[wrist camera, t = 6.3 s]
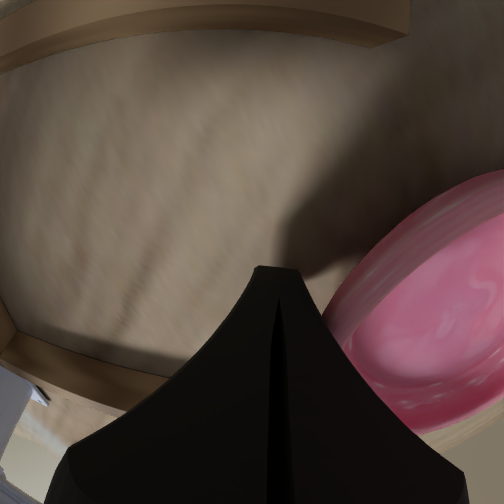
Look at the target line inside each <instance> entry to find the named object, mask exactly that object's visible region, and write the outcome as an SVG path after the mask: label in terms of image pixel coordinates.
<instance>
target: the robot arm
mask: <svg viewBox="0 0 504 504" xmlns="http://www.w3.org/2000/svg"><path fill="white" fill-rule="evenodd" d="M30 398H31V399H33V400H35V401H37V402H39V403H41V404H43V405H45V406H48V405H49V402H48V401H47V399H46V398H45V397H44V396H43V394H42V393H41V392H40V391H39V389H38V388H37V387H36V385H35V384H33V383H31V382H29V381H27V380H25V379H23V378H22V377H20V376H18V375H16V374H14V373H12V372H10V371H9V370H7V369H5V368H3V367H2V366H0V460H1V457H2V455H3V453H4V450H5V448H6V446H7V444H8V441H9V439H10V437H11V435H12V433H13V431H14V429H15V427H16V425H17V423H18V421H19V419H20V417H21V415H22V413H23V411H24V409H25V407H26V405H27V403H28V401H29V399H30ZM0 504H42V503H40V502H39V501H37V500H35V499H34V498H32V497H31V496H29V495H27V494H26V493H25V492H23V491H22V490H20V489H19V488H17V487H16V486H14V485H13V484H11V483H10V482H8V481H7V480H6V476H5V474H4V472H3V468H2V467H1V466H0ZM44 504H469V497H468V490H467V485H466V479H465V476H464V472H462V471H461V470H460V469H458V468H457V467H456V466H454V465H453V464H452V463H450V462H449V461H448V460H446V459H445V458H444V457H442V456H441V455H440V454H439V453H437V452H436V451H435V450H433V449H432V448H431V447H430V446H428V445H427V444H426V443H425V442H424V441H423V440H421V439H420V438H419V437H418V436H417V435H416V434H415V433H414V432H413V431H412V430H410V429H409V428H408V427H407V426H406V425H405V424H404V423H403V422H402V421H401V420H400V419H399V418H398V417H397V416H396V415H395V413H394V412H393V411H392V410H391V409H390V408H389V407H388V406H387V405H386V404H385V403H384V402H383V401H382V400H381V399H380V398H379V397H378V395H377V394H376V393H375V392H374V391H373V389H372V388H371V387H370V386H369V385H368V383H367V382H366V381H365V380H364V379H363V377H362V376H361V375H360V373H359V372H358V371H357V369H356V368H355V367H354V366H353V364H352V363H351V361H350V360H349V359H348V357H347V356H346V354H345V353H344V351H343V350H342V348H341V347H340V345H339V344H338V342H337V341H336V339H335V338H334V336H333V335H332V333H331V331H330V330H329V328H328V326H327V325H326V323H325V321H324V319H323V318H322V316H321V314H320V312H319V311H318V309H317V307H316V305H315V303H314V301H313V299H312V297H311V295H310V293H309V291H308V289H307V287H306V285H305V283H304V281H303V278H302V276H301V274H300V272H299V271H298V270H296V269H287V268H278V267H270V266H261V265H259V266H257V267H256V268H254V272H253V274H252V277H251V279H250V281H249V283H248V285H247V287H246V288H245V290H244V292H243V294H242V295H241V297H240V298H239V300H238V301H237V303H236V304H235V306H234V307H233V309H232V310H231V312H230V313H229V314H228V316H227V317H226V318H225V320H224V321H223V322H222V323H221V325H220V326H219V327H218V329H217V330H216V331H215V332H214V334H213V335H212V336H211V337H210V338H209V339H208V341H207V342H206V343H205V344H204V345H203V346H202V347H201V348H200V349H199V351H198V352H197V353H196V354H195V355H194V356H193V357H192V358H191V359H190V360H189V361H188V362H187V363H186V364H185V365H184V366H183V367H182V368H180V369H179V370H178V371H177V372H176V373H175V374H174V375H173V376H172V377H171V378H170V379H168V380H167V381H166V382H165V383H164V384H163V385H162V386H160V387H159V388H158V389H157V390H155V391H154V392H153V393H152V394H150V395H149V396H148V397H146V398H145V399H144V400H142V401H141V402H140V403H138V404H137V405H136V406H134V407H133V408H132V409H130V410H129V411H127V412H126V413H125V414H123V415H122V416H120V417H119V418H117V419H116V420H114V421H113V422H111V423H110V424H108V425H106V426H105V427H103V428H101V429H99V430H98V431H96V432H94V433H93V434H91V435H89V436H87V437H86V438H84V439H82V440H80V441H79V442H77V443H75V444H73V445H71V446H70V447H69V448H68V449H67V451H66V453H65V454H64V456H63V458H62V460H61V461H60V463H59V465H58V467H57V468H56V470H55V473H54V475H53V478H52V481H51V484H50V486H49V489H48V492H47V495H46V498H45V501H44Z"/></svg>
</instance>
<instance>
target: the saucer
mask: <svg viewBox="0 0 504 504" xmlns="http://www.w3.org/2000/svg"><path fill="white" fill-rule="evenodd" d="M322 318H323V319H324V321H325V323H326V325H327V326H328V328H329V330H330V331H331V333H332V335H333V336H334V338H335V339H336V341H337V342H338V344H339V345H340V347H341V348H342V350H343V351H344V353H345V354H346V356H347V357H348V359H349V360H350V361H351V363H352V364H353V366H354V367H355V368H356V369H357V371H358V372H359V373H360V375H361V376H362V377H363V379H364V380H365V381H366V382H367V383H368V385H369V386H370V387H371V388H372V389H373V391H374V392H375V393H376V394H377V395H378V397H379V398H380V399H381V400H382V401H383V402H384V403H385V404H386V405H387V406H388V407H389V408H390V409H391V410H392V411H393V412H394V413H395V415H396V416H397V417H398V418H399V419H400V420H401V421H402V422H403V423H404V424H405V425H406V426H407V427H408V428H409V429H410V430H412V431H413V432H414V433H415V434H416V435H420V434H424V433H428V432H432V431H435V430H439V429H442V428H445V427H447V426H450V425H453V424H455V423H458V422H460V421H462V420H465V419H467V418H469V417H471V416H473V415H475V414H477V413H479V412H480V411H482V410H484V409H486V408H487V407H489V406H491V405H492V404H494V403H495V402H497V401H498V400H500V399H501V398H503V397H504V169H501V170H497V171H492V172H488V173H485V174H482V175H479V176H476V177H473V178H471V179H469V180H467V181H465V182H463V183H460V184H458V185H456V186H454V187H452V188H451V189H449V190H447V191H445V192H443V193H442V194H440V195H438V196H436V197H434V198H433V199H431V200H430V201H428V202H427V203H426V204H424V205H423V206H421V207H420V208H419V209H417V210H416V211H414V212H413V213H412V214H410V215H409V216H407V217H406V218H405V219H404V220H403V221H402V222H400V223H399V224H398V225H397V226H396V227H395V228H394V229H393V230H392V231H390V232H389V233H388V234H387V235H386V236H385V237H384V238H383V239H382V240H381V241H380V242H378V243H377V244H376V245H375V246H374V247H373V248H372V249H371V250H370V251H369V253H368V254H367V255H366V256H365V257H364V258H363V259H362V260H361V261H360V262H359V263H358V264H357V265H356V267H355V268H354V269H353V270H352V271H351V273H350V274H349V275H348V276H347V277H346V279H345V280H344V281H343V283H342V284H341V285H340V287H339V288H338V290H337V291H336V292H335V294H334V296H333V297H332V299H331V301H330V302H329V304H328V305H327V307H326V309H325V310H324V312H323V314H322Z"/></svg>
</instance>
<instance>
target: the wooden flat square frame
mask: <svg viewBox="0 0 504 504" xmlns="http://www.w3.org/2000/svg"><path fill="white" fill-rule="evenodd" d="M410 3H411V0H36V1H34V2H32V3H30V4H28V5H26V6H24V7H22V8H20V9H19V10H17V11H15V12H13V13H11V14H10V15H8V16H6V17H5V18H3V19H1V20H0V74H2V73H5V72H7V71H9V70H12V69H14V68H17V67H19V66H22V65H24V64H27V63H29V62H32V61H35V60H38V59H40V58H43V57H46V56H49V55H52V54H56V53H59V52H62V51H66V50H69V49H73V48H76V47H80V46H84V45H88V44H92V43H97V42H101V41H106V40H111V39H116V38H122V37H128V36H134V35H141V34H148V33H156V32H166V31H178V30H194V29H249V30H265V31H277V32H287V33H295V34H303V35H310V36H316V37H322V38H328V39H333V40H338V41H343V42H348V43H352V44H356V45H361V46H365V47H369V48H373V47H375V46H378V45H381V44H384V43H386V42H389V41H392V40H395V39H398V38H401V37H404V36H407V35H409V28H410ZM0 366H2V367H3V368H5V369H7V370H9V371H10V372H12V373H14V374H16V375H18V376H20V377H22V378H23V379H25V380H27V381H29V382H31V383H33V384H35V385H37V386H39V387H42V388H44V389H46V390H48V391H50V392H52V393H55V394H57V395H59V396H61V397H64V398H66V399H68V400H71V401H73V402H76V403H78V404H81V405H83V406H86V407H89V408H91V409H94V410H97V411H100V412H103V413H106V414H108V415H111V416H114V417H118V418H119V417H120V416H122V415H123V414H125V413H126V412H127V411H129V410H130V409H132V408H133V407H134V406H136V405H137V404H138V403H140V402H141V401H142V400H144V399H145V398H146V397H148V396H149V395H150V394H152V393H153V392H154V391H155V390H157V389H158V388H159V387H160V386H162V385H163V384H164V383H165V382H166V381H167V380H168V379H170V378H165V377H160V376H156V375H151V374H147V373H143V372H139V371H135V370H131V369H127V368H123V367H120V366H116V365H113V364H109V363H106V362H102V361H99V360H96V359H92V358H89V357H86V356H83V355H80V354H77V353H74V352H71V351H68V350H65V349H62V348H60V347H57V346H54V345H51V344H49V343H46V342H43V341H41V340H38V339H36V338H33V337H31V336H28V335H26V334H24V333H21V332H19V331H17V329H16V327H15V325H14V323H13V322H12V320H11V318H10V316H9V314H8V312H7V310H6V308H5V306H4V304H3V302H2V300H1V297H0Z"/></svg>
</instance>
